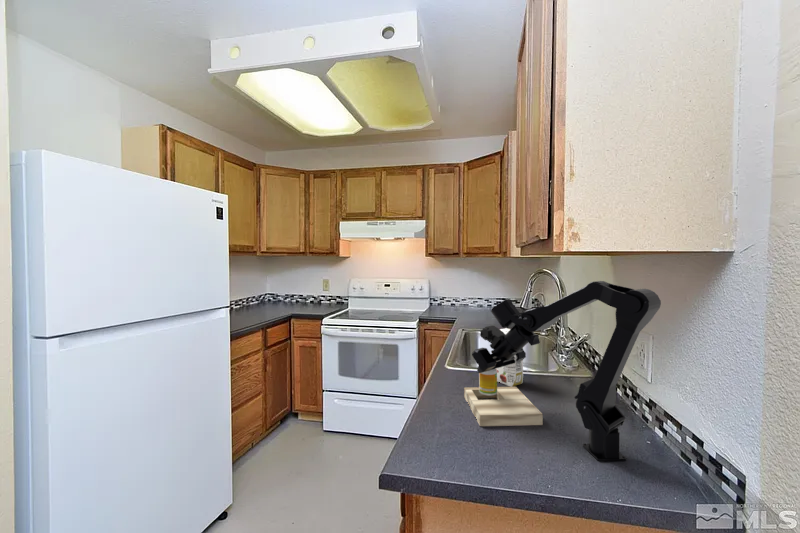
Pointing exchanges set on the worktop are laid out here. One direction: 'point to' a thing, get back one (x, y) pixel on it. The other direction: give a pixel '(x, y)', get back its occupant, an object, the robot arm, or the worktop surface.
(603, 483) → the worktop surface
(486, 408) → the socket board
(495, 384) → the supplement bottle
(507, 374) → the juice carton
